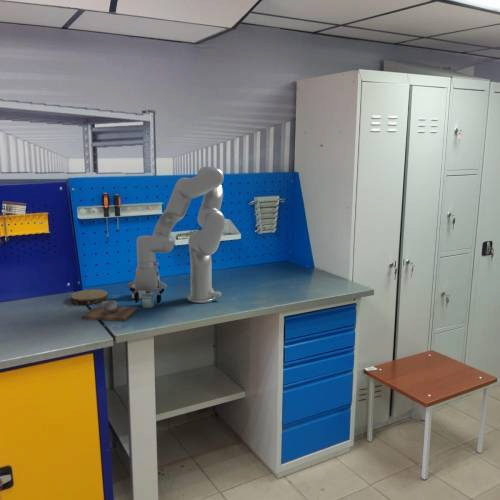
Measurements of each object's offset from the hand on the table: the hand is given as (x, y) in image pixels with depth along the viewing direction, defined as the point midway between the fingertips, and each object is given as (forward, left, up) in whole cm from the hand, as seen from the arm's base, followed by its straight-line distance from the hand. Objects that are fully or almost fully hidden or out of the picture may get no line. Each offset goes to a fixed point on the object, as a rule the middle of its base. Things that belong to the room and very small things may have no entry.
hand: (147, 302), depth 224 cm
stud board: (+12, +13, -2) cm, 18 cm away
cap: (0, 0, -2) cm, 2 cm away
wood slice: (+29, -5, -2) cm, 30 cm away
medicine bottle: (+7, -13, -2) cm, 15 cm away
